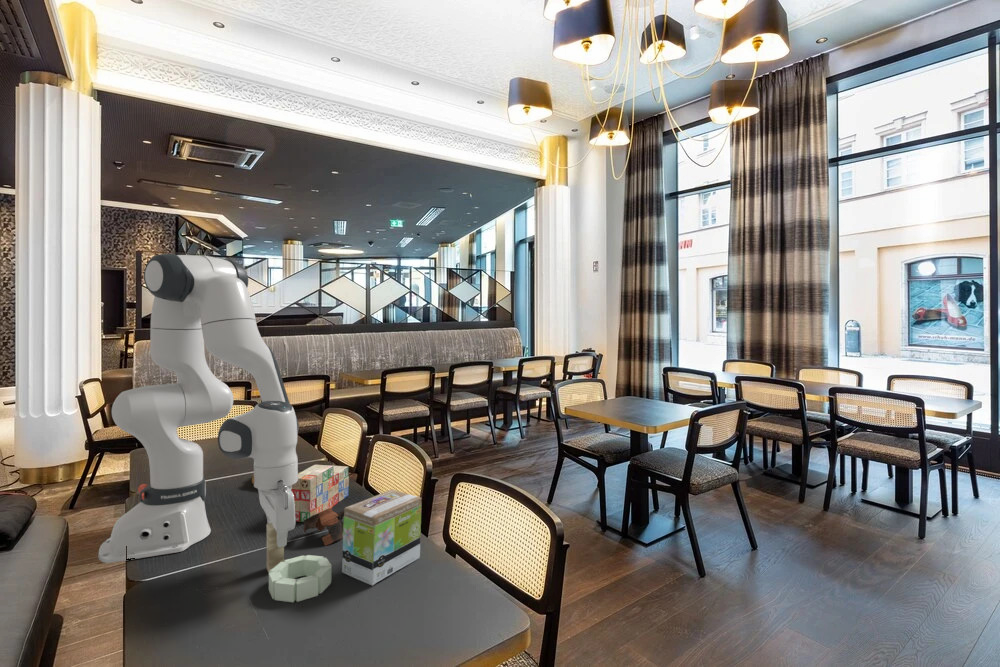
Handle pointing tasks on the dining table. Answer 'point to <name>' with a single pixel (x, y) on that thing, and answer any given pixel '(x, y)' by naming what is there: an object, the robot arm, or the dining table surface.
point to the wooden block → (273, 549)
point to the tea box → (381, 535)
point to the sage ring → (302, 588)
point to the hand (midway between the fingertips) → (276, 537)
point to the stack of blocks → (319, 489)
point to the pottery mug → (327, 524)
